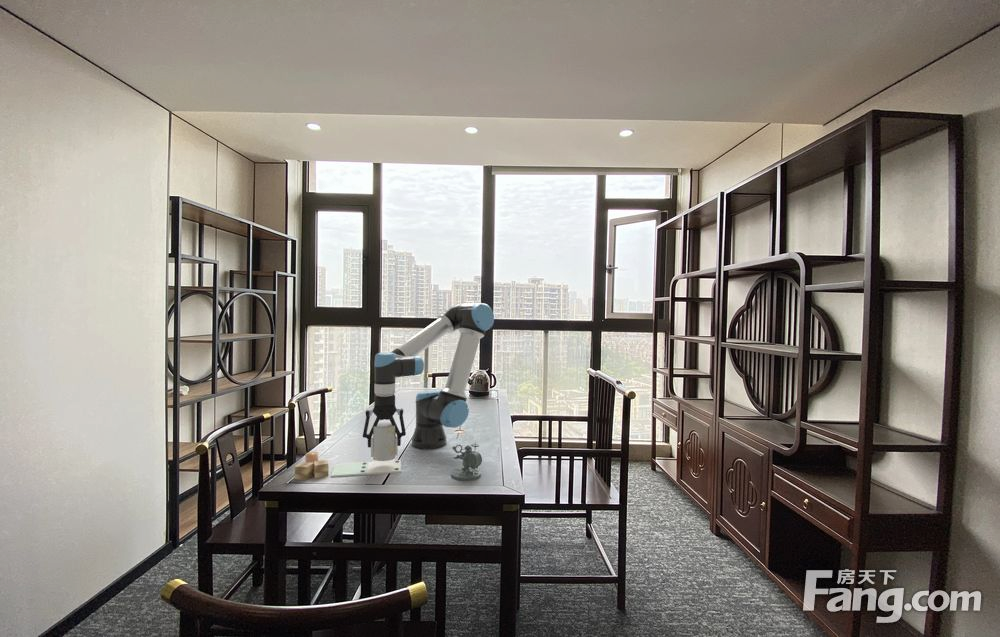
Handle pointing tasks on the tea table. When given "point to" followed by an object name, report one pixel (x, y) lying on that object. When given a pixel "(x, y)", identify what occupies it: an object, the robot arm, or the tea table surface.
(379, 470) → the pad two
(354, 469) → the pad three
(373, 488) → the tea table surface
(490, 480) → the tea table surface
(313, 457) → the terracotta cylinder
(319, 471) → the oak block
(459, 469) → the figurine
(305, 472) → the oak block
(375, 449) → the cup
